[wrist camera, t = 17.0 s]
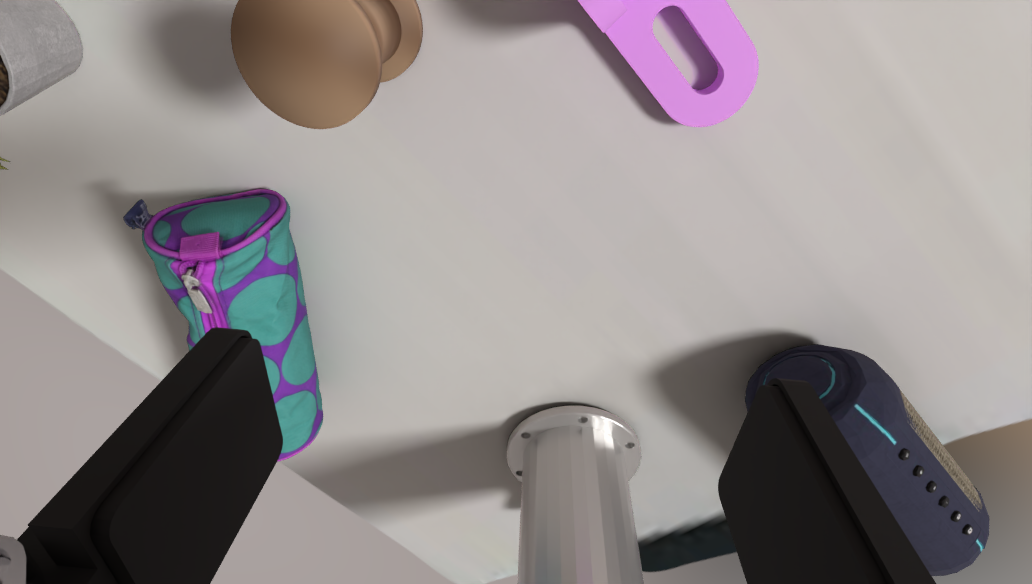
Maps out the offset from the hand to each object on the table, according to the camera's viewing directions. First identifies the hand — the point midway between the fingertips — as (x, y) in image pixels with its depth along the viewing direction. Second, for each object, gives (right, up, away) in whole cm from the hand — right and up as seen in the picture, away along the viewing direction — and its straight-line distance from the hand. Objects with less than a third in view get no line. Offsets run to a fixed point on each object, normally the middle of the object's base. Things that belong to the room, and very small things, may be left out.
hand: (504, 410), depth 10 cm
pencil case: (-19, +2, +32) cm, 37 cm away
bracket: (+9, +18, +19) cm, 28 cm away
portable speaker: (+29, -9, +36) cm, 47 cm away
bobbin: (-8, +18, +20) cm, 28 cm away
